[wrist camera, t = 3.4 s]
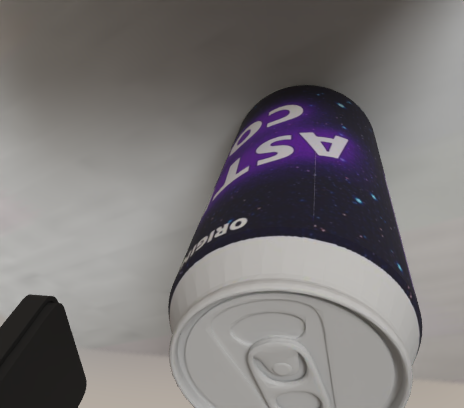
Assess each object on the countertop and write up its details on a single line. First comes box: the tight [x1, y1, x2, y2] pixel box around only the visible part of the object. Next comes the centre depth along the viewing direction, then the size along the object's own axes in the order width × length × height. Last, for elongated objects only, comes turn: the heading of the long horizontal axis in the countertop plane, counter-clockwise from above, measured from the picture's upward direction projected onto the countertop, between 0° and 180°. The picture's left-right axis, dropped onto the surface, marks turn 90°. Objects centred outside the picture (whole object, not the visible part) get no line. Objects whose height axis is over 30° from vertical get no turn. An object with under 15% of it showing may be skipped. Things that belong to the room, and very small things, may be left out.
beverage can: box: [168, 85, 422, 408], centre depth 14 cm, size 6×6×12 cm
